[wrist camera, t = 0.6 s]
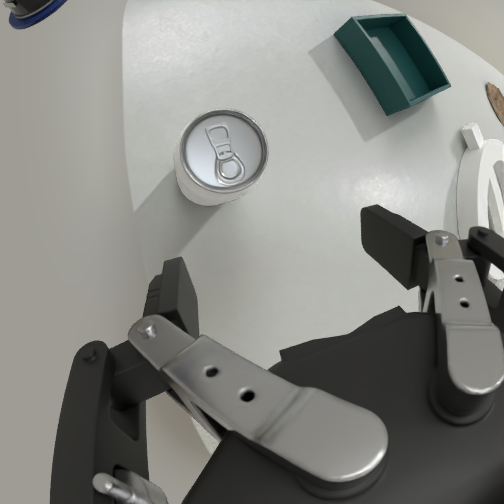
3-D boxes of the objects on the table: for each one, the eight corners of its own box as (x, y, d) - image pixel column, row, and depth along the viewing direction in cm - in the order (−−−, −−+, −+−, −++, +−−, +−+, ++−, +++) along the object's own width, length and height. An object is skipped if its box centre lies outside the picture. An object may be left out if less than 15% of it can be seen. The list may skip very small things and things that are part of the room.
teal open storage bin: (333, 34, 29) (351, 17, 24) (387, 25, 31) (405, 13, 26) (386, 115, 32) (410, 106, 27) (430, 93, 34) (451, 86, 29)
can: (187, 214, 28) (190, 214, 16) (169, 155, 27) (160, 117, 15) (246, 195, 29) (287, 183, 18) (228, 138, 28) (257, 94, 16)
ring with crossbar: (455, 119, 36) (474, 114, 32) (509, 166, 43) (523, 166, 39) (447, 270, 39) (468, 276, 34) (501, 278, 46) (516, 281, 42)
